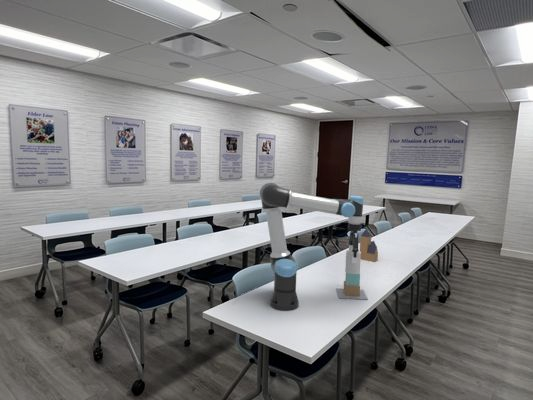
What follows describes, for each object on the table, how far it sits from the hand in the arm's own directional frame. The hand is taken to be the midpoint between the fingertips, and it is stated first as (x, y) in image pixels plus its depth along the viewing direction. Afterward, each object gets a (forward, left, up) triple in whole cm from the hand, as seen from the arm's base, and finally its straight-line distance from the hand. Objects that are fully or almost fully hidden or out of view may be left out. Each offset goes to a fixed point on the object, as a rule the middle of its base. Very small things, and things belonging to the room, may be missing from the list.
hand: (352, 259), depth 196 cm
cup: (0, 0, -7) cm, 7 cm away
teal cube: (+1, 0, -14) cm, 14 cm away
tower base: (0, 0, -21) cm, 21 cm away
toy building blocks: (+28, +79, -21) cm, 87 cm away
